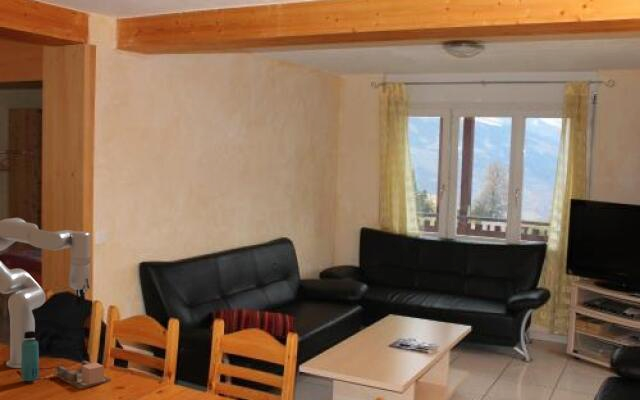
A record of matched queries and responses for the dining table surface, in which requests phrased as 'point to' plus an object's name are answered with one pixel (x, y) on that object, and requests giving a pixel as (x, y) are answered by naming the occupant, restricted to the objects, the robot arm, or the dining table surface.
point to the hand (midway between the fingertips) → (80, 304)
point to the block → (92, 373)
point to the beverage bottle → (30, 357)
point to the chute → (76, 376)
